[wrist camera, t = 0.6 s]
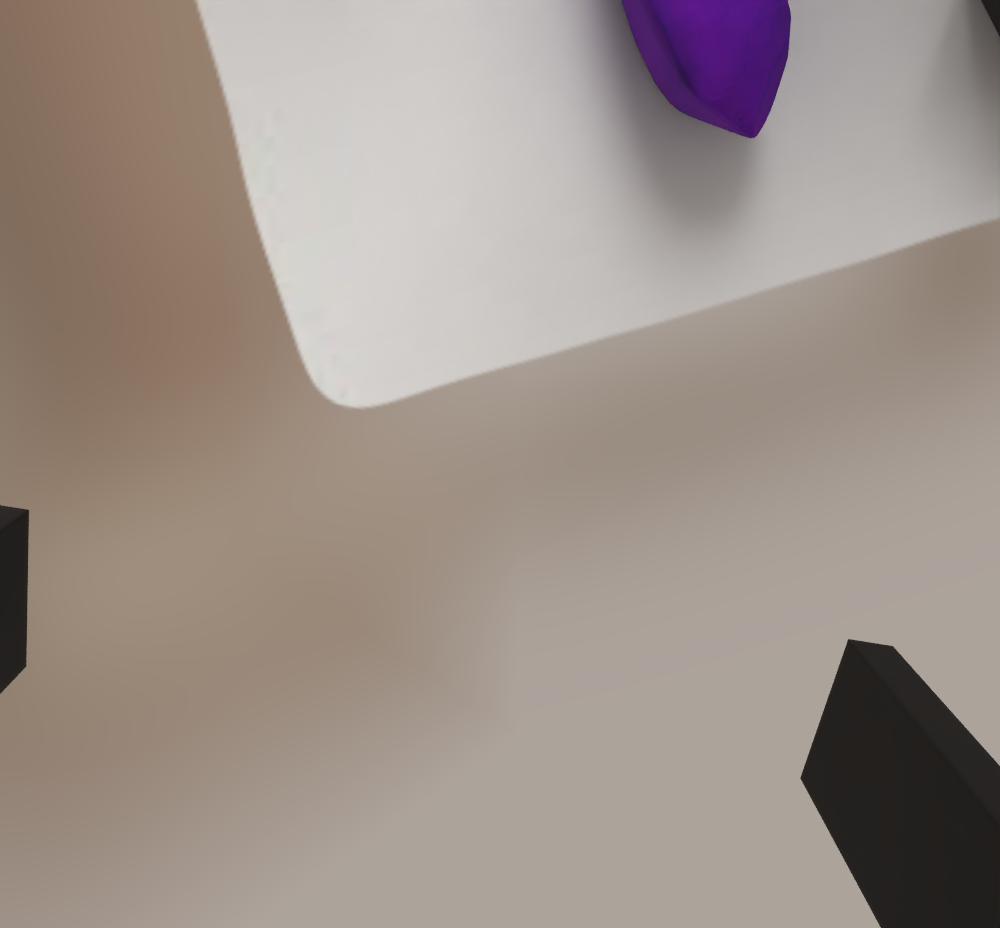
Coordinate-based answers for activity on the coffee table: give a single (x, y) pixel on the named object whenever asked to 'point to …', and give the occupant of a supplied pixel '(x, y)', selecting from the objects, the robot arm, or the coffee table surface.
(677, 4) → the purple long tapered piece
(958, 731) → the robot arm
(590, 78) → the coffee table surface
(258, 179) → the coffee table surface
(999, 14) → the black block
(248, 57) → the coffee table surface
